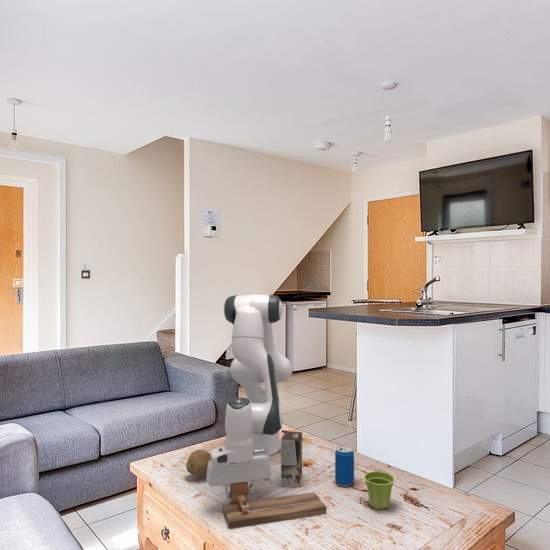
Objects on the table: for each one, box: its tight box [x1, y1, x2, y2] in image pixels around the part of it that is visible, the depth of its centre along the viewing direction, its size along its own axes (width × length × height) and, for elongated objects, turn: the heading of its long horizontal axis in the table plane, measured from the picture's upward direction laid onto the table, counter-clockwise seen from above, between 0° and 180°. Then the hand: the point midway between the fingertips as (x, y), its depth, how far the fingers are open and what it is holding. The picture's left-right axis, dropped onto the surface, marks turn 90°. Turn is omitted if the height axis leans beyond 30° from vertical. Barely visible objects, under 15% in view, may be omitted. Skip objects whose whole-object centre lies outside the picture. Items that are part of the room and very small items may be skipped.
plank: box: [222, 491, 327, 530], centre depth 141 cm, size 10×30×2 cm, turn 106°
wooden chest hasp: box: [229, 482, 249, 512], centre depth 141 cm, size 11×5×8 cm, turn 17°
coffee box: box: [280, 431, 303, 488], centre depth 162 cm, size 9×6×16 cm
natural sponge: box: [185, 449, 211, 479], centre depth 165 cm, size 9×9×10 cm
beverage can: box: [334, 445, 355, 488], centre depth 161 cm, size 6×6×12 cm
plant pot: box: [363, 470, 396, 510], centre depth 145 cm, size 9×9×9 cm
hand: (239, 495), depth 145 cm, fingers closed on wooden chest hasp, 5 cm apart
